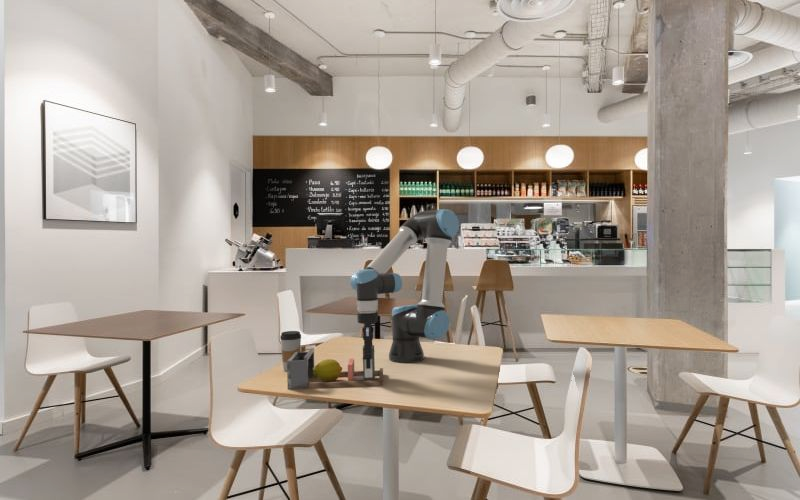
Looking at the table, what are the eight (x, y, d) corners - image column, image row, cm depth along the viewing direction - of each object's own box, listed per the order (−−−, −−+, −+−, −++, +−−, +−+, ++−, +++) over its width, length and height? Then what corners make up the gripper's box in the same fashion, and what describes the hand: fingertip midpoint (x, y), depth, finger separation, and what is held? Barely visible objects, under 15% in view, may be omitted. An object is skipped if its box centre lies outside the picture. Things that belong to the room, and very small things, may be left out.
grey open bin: (314, 376, 181) (313, 348, 181) (307, 388, 166) (307, 357, 166) (296, 376, 181) (295, 348, 181) (287, 388, 166) (286, 358, 166)
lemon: (341, 377, 179) (340, 356, 179) (344, 383, 172) (344, 360, 172) (311, 380, 176) (311, 358, 176) (313, 386, 169) (313, 363, 169)
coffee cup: (296, 372, 188) (296, 334, 188) (277, 372, 190) (276, 334, 190) (305, 367, 196) (304, 330, 196) (286, 366, 198) (285, 330, 198)
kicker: (375, 375, 179) (374, 343, 179) (374, 383, 169) (373, 349, 169) (350, 376, 179) (349, 344, 179) (348, 383, 169) (347, 350, 169)
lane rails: (383, 374, 182) (382, 368, 182) (382, 385, 167) (382, 378, 167) (314, 376, 181) (314, 370, 181) (308, 388, 166) (307, 381, 166)
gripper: (358, 308, 185) (360, 367, 185) (355, 316, 164) (357, 382, 164) (378, 307, 185) (379, 366, 185) (377, 315, 164) (379, 381, 164)
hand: (369, 373), depth 174 cm, fingers open, 8 cm apart
